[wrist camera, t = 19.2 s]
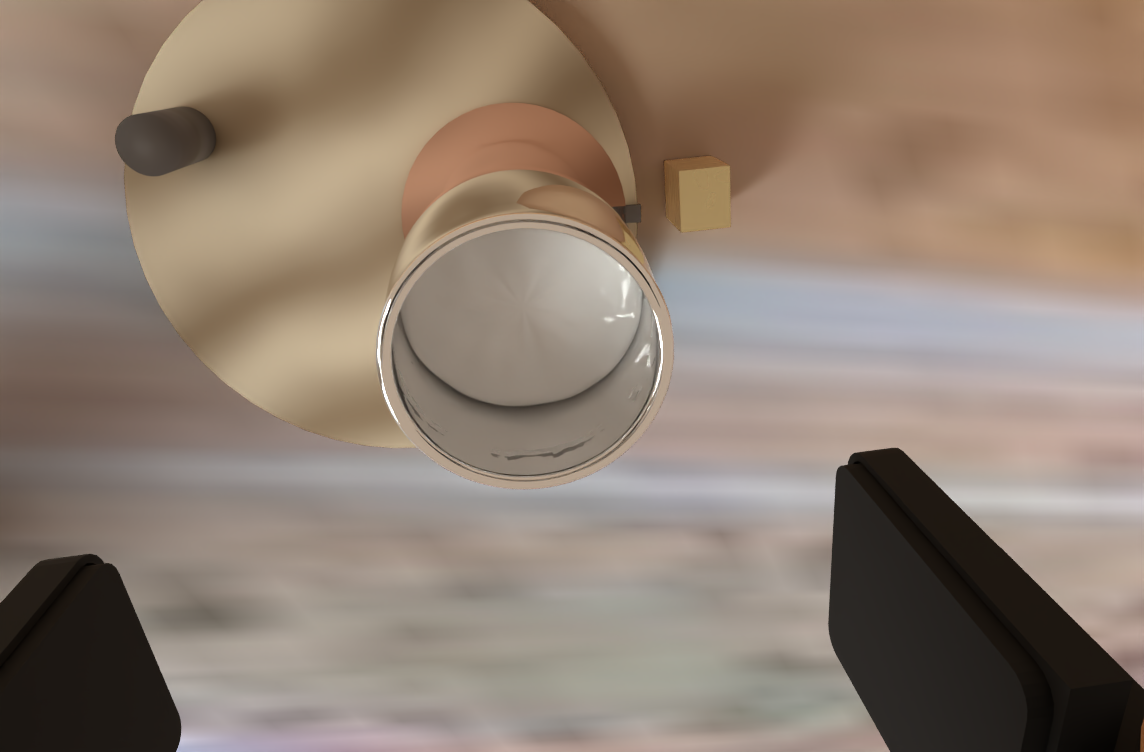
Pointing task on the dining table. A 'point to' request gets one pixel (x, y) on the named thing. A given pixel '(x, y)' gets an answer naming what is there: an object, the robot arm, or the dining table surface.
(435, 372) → the beer glass
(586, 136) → the turntable
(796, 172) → the dining table surface
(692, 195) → the wooden toy cube
